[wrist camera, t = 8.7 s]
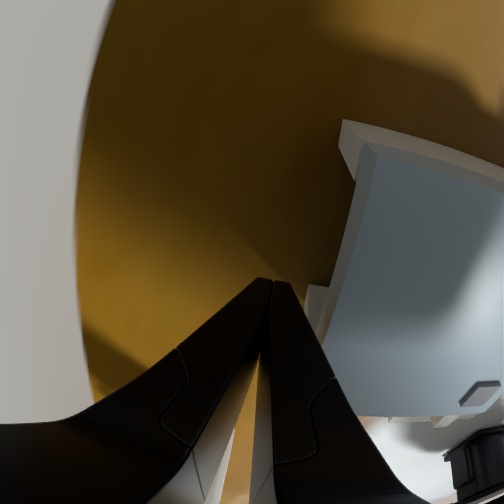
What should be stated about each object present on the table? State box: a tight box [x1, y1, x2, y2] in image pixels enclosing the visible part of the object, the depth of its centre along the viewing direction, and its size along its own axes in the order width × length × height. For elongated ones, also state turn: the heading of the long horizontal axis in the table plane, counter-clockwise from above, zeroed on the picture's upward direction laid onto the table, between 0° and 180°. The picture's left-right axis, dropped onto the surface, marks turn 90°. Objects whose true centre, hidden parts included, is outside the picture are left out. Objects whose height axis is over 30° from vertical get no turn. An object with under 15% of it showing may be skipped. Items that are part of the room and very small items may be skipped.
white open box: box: [304, 119, 504, 428], centre depth 11 cm, size 16×18×4 cm
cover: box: [315, 142, 504, 417], centre depth 7 cm, size 8×8×2 cm
